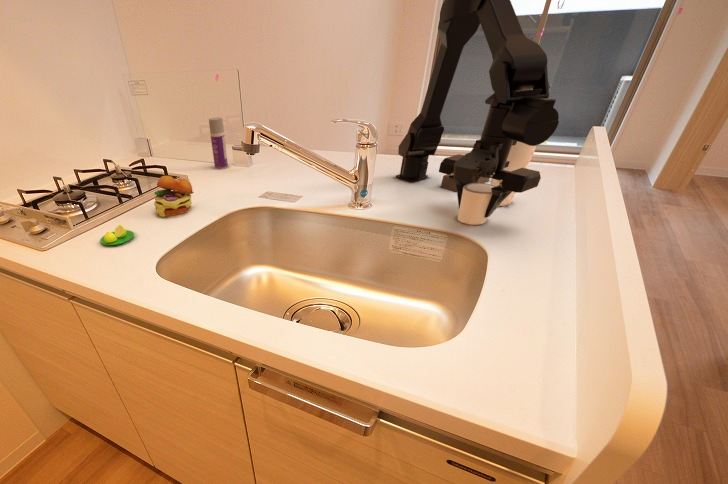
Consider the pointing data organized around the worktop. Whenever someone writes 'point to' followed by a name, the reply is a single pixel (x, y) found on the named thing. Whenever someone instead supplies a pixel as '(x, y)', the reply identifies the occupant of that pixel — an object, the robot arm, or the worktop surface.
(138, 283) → the worktop surface
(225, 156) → the container
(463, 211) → the cream cup
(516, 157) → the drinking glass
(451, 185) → the walnut block near
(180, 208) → the cheeseburger
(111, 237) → the lemon
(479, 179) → the walnut block far
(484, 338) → the worktop surface
